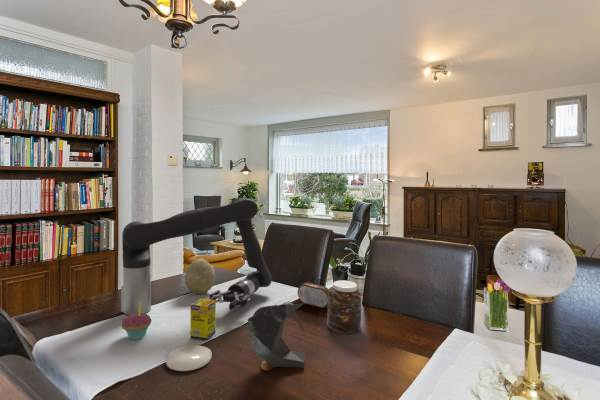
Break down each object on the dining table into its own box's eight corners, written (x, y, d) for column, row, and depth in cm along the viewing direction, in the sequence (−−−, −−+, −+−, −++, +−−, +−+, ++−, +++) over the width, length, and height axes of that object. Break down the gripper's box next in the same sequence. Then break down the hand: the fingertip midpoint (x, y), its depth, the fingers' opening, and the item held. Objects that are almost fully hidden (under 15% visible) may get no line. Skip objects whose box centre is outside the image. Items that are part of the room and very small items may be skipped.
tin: (332, 308, 135) (333, 287, 134) (328, 310, 132) (329, 289, 132) (300, 300, 143) (300, 280, 142) (296, 302, 140) (296, 282, 140)
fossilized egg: (192, 287, 156) (192, 255, 155) (219, 289, 154) (219, 256, 153) (179, 297, 143) (179, 261, 142) (208, 299, 141) (208, 263, 140)
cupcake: (157, 332, 111) (157, 296, 110) (136, 344, 103) (136, 305, 102) (136, 328, 113) (136, 293, 113) (114, 339, 105) (114, 301, 105)
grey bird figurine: (252, 350, 101) (253, 290, 100) (304, 352, 101) (306, 292, 99) (243, 378, 87) (244, 309, 85) (303, 381, 86) (305, 311, 85)
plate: (156, 367, 91) (156, 362, 91) (184, 346, 102) (184, 342, 102) (194, 376, 87) (194, 371, 87) (219, 353, 99) (219, 349, 99)
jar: (364, 323, 121) (366, 282, 120) (355, 337, 111) (357, 291, 110) (333, 317, 126) (334, 277, 125) (321, 329, 116) (322, 286, 115)
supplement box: (207, 340, 106) (207, 306, 105) (189, 338, 107) (189, 304, 107) (216, 332, 112) (216, 299, 111) (199, 330, 113) (199, 298, 112)
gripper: (225, 279, 136) (201, 291, 120) (258, 283, 131) (237, 297, 116) (225, 297, 136) (201, 312, 121) (257, 302, 132) (237, 318, 116)
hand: (219, 305), depth 118 cm, fingers open, 8 cm apart
